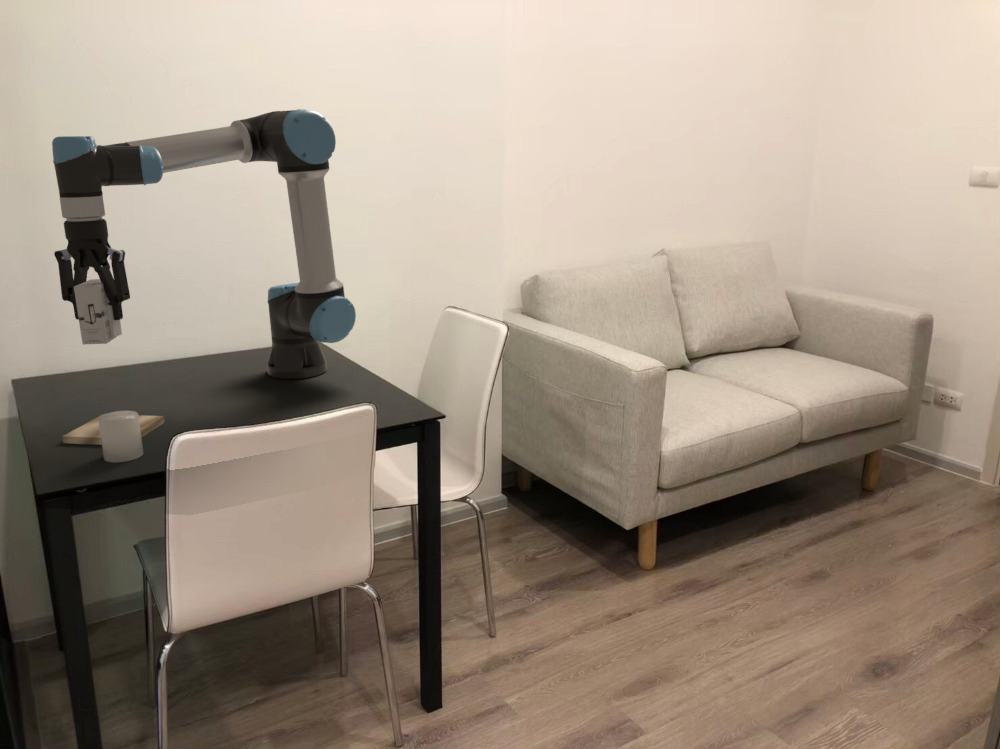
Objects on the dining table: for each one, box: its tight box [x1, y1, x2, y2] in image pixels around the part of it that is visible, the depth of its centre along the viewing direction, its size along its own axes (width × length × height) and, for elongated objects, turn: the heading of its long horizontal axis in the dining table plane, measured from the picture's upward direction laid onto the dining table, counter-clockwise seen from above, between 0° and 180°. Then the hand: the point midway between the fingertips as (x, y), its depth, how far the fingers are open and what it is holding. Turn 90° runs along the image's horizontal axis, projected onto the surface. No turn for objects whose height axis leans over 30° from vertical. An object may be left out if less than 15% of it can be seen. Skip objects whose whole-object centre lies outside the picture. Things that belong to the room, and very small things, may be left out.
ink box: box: [74, 278, 116, 345], centre depth 166 cm, size 9×5×12 cm, turn 4°
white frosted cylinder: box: [98, 410, 144, 463], centre depth 160 cm, size 7×7×8 cm
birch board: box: [62, 413, 165, 446], centre depth 173 cm, size 14×14×2 cm
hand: (101, 335), depth 168 cm, fingers closed on ink box, 6 cm apart
